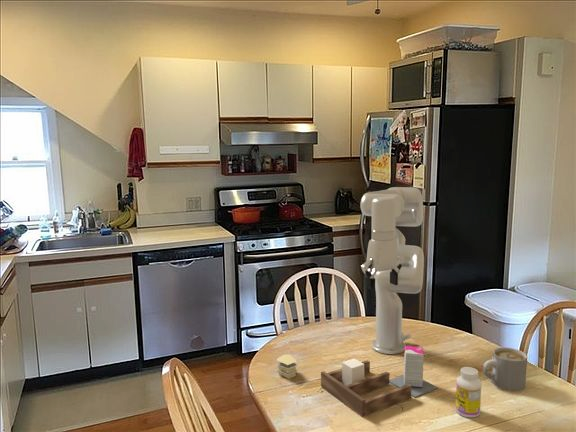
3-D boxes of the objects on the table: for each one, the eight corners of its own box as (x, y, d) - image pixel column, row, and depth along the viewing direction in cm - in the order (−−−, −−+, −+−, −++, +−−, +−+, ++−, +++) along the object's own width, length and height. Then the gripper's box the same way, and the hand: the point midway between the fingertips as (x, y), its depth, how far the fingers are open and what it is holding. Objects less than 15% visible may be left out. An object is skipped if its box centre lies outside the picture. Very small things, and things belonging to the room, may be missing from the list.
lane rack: (367, 371, 164) (367, 357, 164) (411, 397, 147) (411, 382, 146) (321, 386, 155) (320, 372, 154) (362, 417, 137) (362, 400, 136)
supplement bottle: (451, 406, 142) (453, 365, 140) (473, 405, 142) (475, 364, 140) (461, 419, 135) (463, 376, 133) (484, 417, 136) (486, 375, 134)
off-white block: (354, 381, 158) (354, 358, 157) (364, 387, 154) (364, 364, 152) (342, 385, 155) (342, 362, 154) (351, 392, 151) (351, 368, 150)
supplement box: (423, 388, 151) (424, 354, 150) (403, 387, 153) (404, 353, 151) (421, 379, 157) (422, 346, 155) (403, 378, 158) (403, 345, 156)
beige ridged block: (306, 376, 163) (306, 360, 162) (285, 384, 157) (285, 368, 156) (288, 365, 170) (288, 350, 169) (267, 373, 165) (267, 358, 164)
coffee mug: (518, 376, 159) (520, 347, 157) (530, 391, 149) (532, 361, 148) (476, 375, 160) (477, 346, 159) (485, 390, 150) (487, 360, 149)
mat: (410, 373, 162) (410, 372, 162) (437, 388, 152) (437, 387, 152) (387, 381, 157) (387, 380, 157) (414, 397, 147) (415, 396, 147)
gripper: (395, 230, 163) (394, 279, 165) (354, 236, 154) (354, 288, 157) (411, 234, 156) (410, 285, 159) (370, 240, 148) (369, 294, 150)
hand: (382, 286), depth 158 cm, fingers open, 9 cm apart
